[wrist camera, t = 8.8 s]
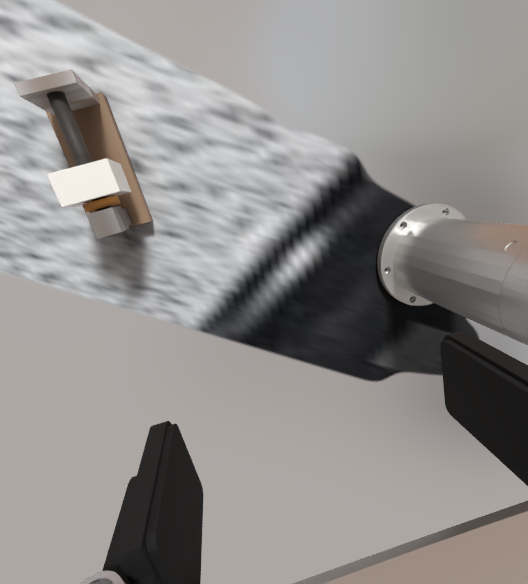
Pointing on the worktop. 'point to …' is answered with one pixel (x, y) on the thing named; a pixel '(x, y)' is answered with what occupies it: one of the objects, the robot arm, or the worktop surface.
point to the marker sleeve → (89, 182)
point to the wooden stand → (89, 144)
